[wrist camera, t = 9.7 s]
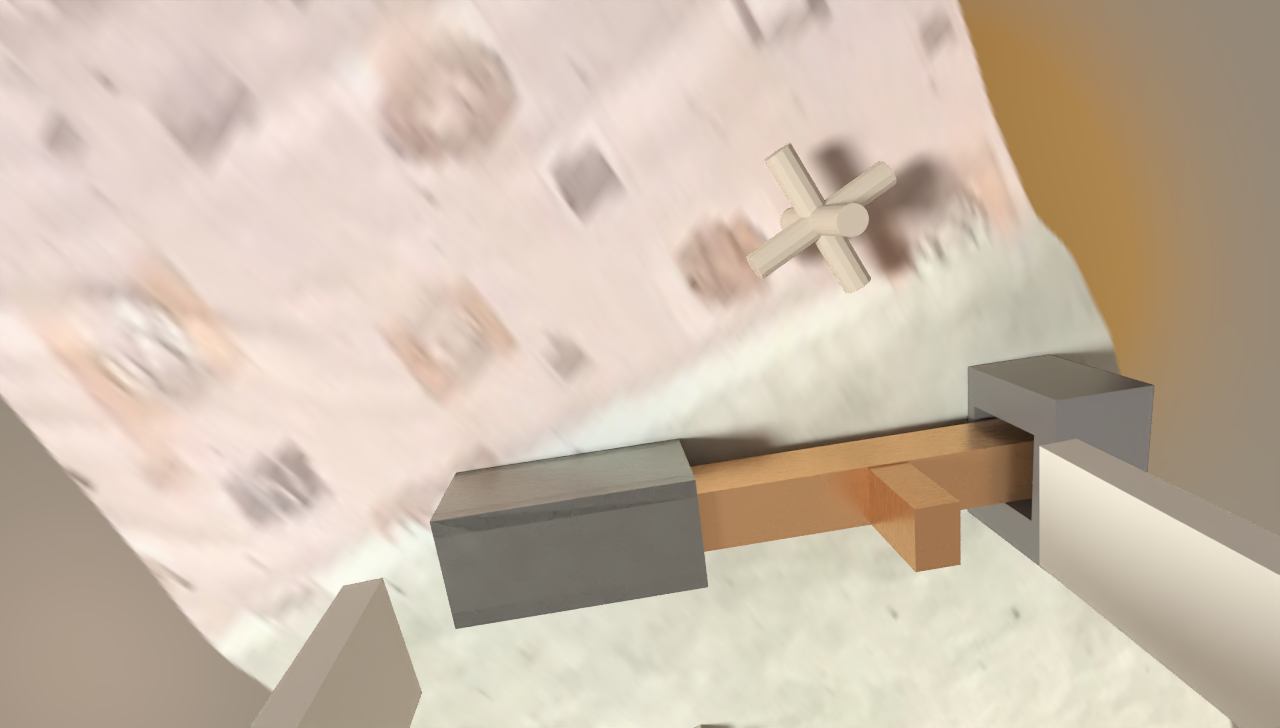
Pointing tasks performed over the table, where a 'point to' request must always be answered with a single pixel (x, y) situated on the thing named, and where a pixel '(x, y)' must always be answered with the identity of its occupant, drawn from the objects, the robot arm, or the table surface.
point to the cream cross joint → (821, 219)
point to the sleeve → (569, 533)
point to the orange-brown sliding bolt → (870, 489)
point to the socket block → (1057, 423)
